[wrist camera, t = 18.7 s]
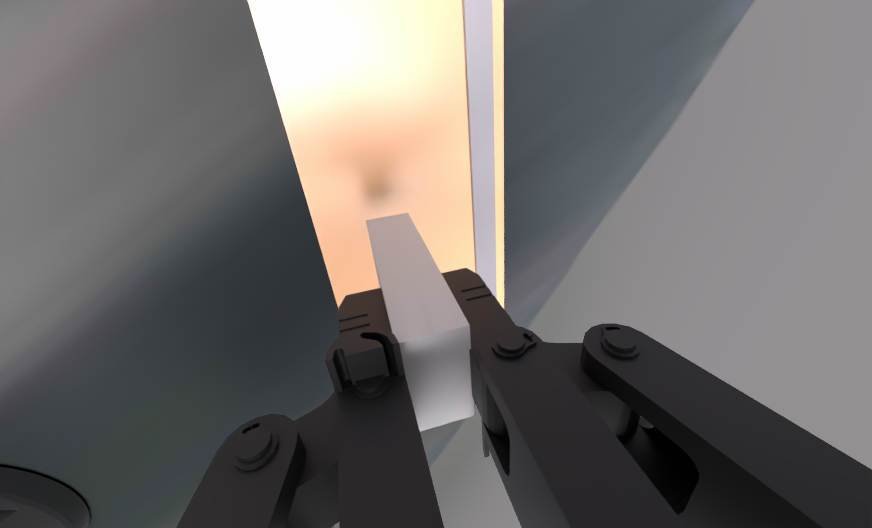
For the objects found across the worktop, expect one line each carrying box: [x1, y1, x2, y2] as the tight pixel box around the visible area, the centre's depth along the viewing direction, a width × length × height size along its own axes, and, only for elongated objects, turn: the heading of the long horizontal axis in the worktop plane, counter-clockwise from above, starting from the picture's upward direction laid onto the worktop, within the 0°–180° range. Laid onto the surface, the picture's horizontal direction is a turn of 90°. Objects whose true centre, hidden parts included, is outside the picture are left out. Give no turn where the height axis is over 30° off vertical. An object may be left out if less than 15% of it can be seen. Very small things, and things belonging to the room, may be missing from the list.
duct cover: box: [248, 0, 504, 309], centre depth 18 cm, size 10×20×1 cm, turn 5°
